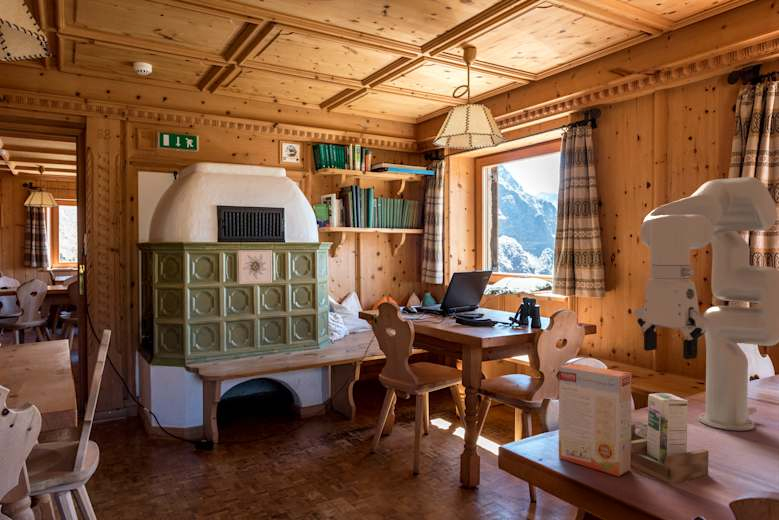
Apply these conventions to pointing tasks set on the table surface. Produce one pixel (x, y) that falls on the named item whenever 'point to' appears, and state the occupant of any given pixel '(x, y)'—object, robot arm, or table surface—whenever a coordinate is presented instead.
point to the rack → (668, 461)
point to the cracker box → (595, 417)
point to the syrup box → (666, 426)
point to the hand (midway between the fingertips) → (669, 354)
